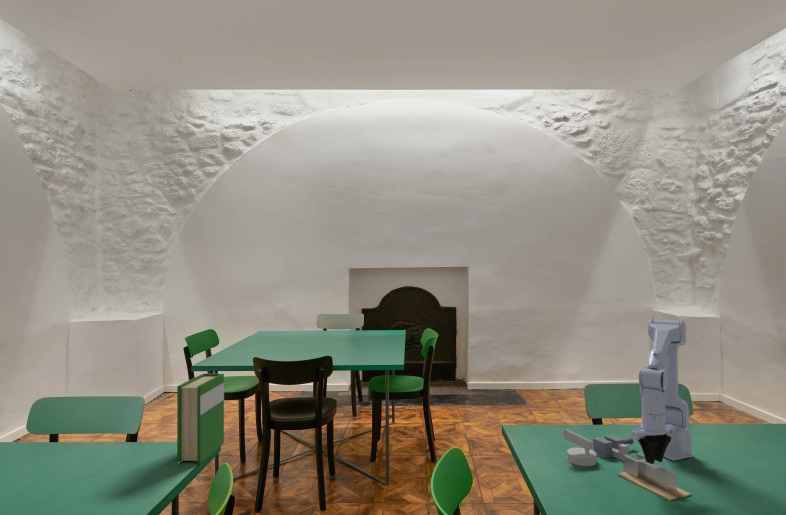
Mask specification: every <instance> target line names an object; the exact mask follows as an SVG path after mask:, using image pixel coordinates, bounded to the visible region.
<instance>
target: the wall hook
mask: <svg viewBox="0 0 786 515" xmlns="http://www.w3.org/2000/svg"><path fill="white" fill-rule="evenodd" d="M561 436H562V437H561V438H562V439H564V440H566V441H568V442H570V443H572V444H574V445H576V446H579V447H570V448H568V449H566V460H567V461H568V462H569V463H570V464H573V465H576V466H580V467H593V466H596V465H597V462H598V461H597V460H598V459H597V454H596V453H595V452H594V451H592V450H590V449H592V448H593V441H592V440H590V439H588V438H586V437H584V436H582V435H580V434H577V433H575V432H574V431H571V430H570V429H568V428H565V429H564V431H563V432H562V435H561Z"/></svg>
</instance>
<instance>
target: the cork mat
mask: <svg viewBox="0 0 786 515" xmlns="http://www.w3.org/2000/svg"><path fill="white" fill-rule="evenodd" d="M617 476H619V477H621V478H622V479H625V480H627V481H629V482H631V483H633V484H635V485H637V486H639V487H641V488H643V489H645V490H647V491H649V492H651V493H653V494H655V495H657V496H659V497H661V498H664V499H665V500H667V501H669V502H670V501H674V500H678V499H682V498H686V497H690V496H692V493H691V492H688V491H687V490H684V489H682V488H679V487H678V486H677V490H675V491H669V492H668V491H666V490H664V489H662V488H660V487H658V486H656V485H655V484H653V483H651V482H649V481H647V480H645V479H644V478H636V477H634V476H633V475H631V474H629V473H627V472H625V471H623V472H618V473H617Z"/></svg>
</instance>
